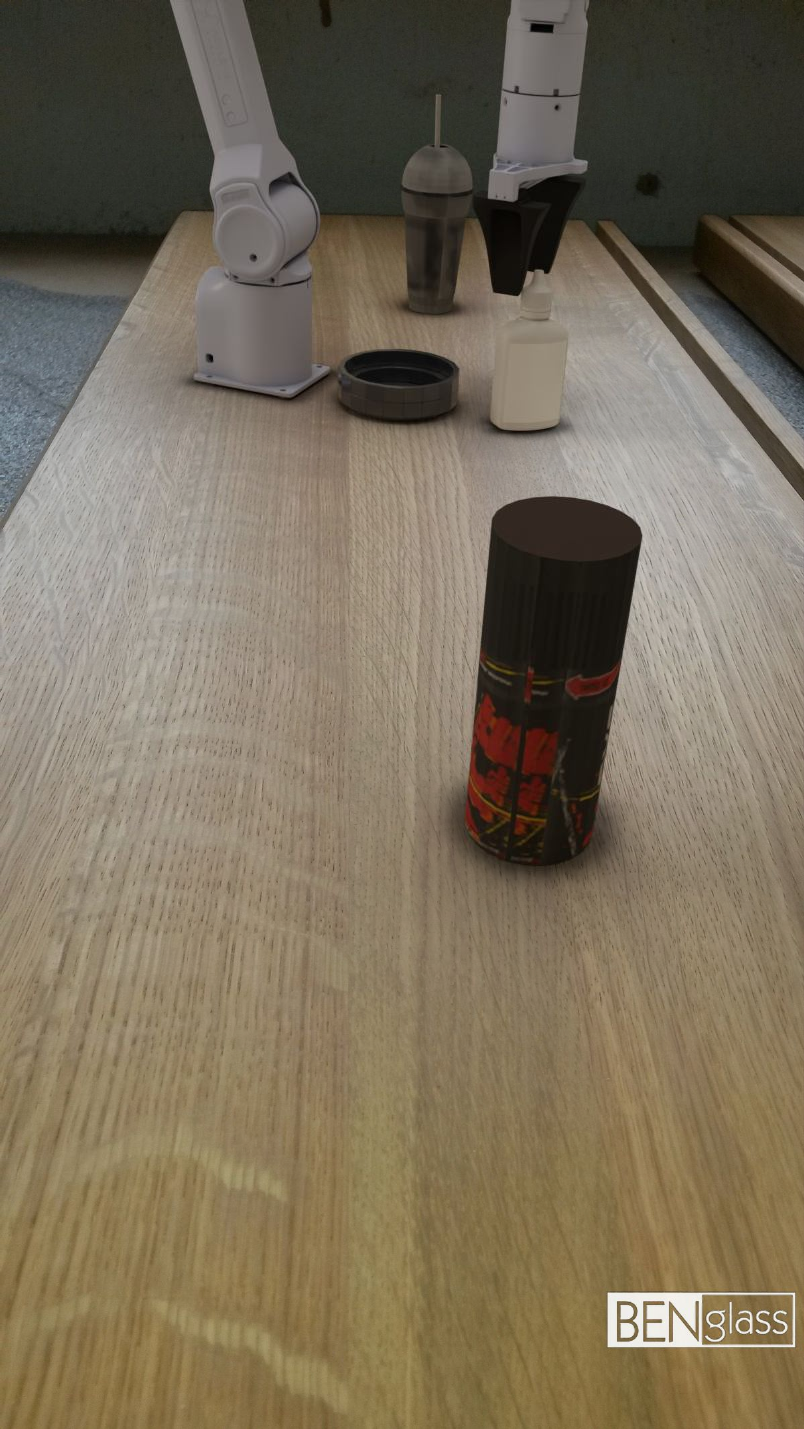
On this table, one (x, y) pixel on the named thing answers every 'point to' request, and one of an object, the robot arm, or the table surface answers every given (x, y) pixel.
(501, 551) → the deodorant
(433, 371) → the dish
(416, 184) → the beverage cup
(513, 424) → the eye dropper bottle
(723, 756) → the table surface
